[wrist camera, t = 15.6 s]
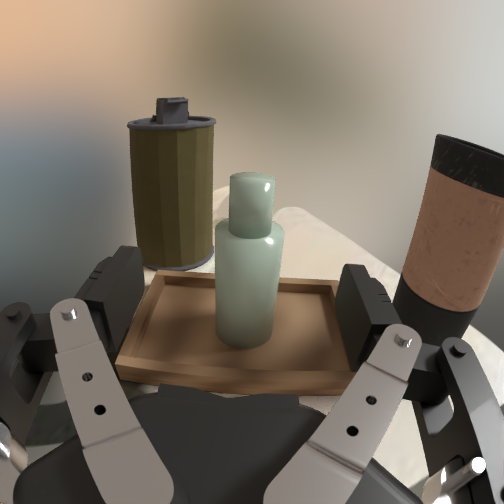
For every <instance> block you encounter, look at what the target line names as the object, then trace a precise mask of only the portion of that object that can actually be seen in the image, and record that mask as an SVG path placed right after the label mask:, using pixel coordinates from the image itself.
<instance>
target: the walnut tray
mask: <svg viewBox="0 0 504 504" xmlns="http://www.w3.org/2000/svg"><path fill="white" fill-rule="evenodd" d="M338 285H339V281H338V280H318V279H298V278H279V284H278V292H277V300H276V308H275V315H274V323H273V330H272V335H271V337H270V339H269V340H268V341H267V342H266V343H265V344H263V345H261V346H259V347H256V348H252V349H239V348H234V347H231V346H229V345H227V344H225V343H224V342H222V341H221V340H220V339H219V337H218V336H217V333H216V321H215V274H213V273H198V272H183V271H169V270H157V272H156V274H155V276H154V278H153V280H152V282H151V284H150V286H149V289H148V291H147V293H146V295H145V297H144V299H143V301H142V303H141V305H140V308H139V310H138V312H137V314H136V316H135V318H134V321H133V323H132V325H131V327H130V330H129V332H128V334H127V336H126V339H125V341H124V343H123V345H122V348H121V350H120V352H119V355H118V357H117V359H116V362H115V366H116V369H117V372H118V375H119V378H120V379H121V380H126V381H132V382H138V383H144V384H151V385H157V386H159V385H160V383H164V384H171V385H178V386H186V387H193V388H196V389H199V390H202V391H208V392H220V393H234V394H251V395H256V394H263V393H271V394H298V396H321V395H342V394H343V393H344V391H345V390H346V388H347V387H348V385H349V384H350V382H351V381H352V379H353V378H354V376H355V375H356V373H357V372H351V368H350V364H349V360H348V356H347V352H346V349H345V345H344V341H343V337H342V334H341V330H340V326H339V323H338V319H337V315H336V312H335V296H336V292H337V289H338Z"/></svg>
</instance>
